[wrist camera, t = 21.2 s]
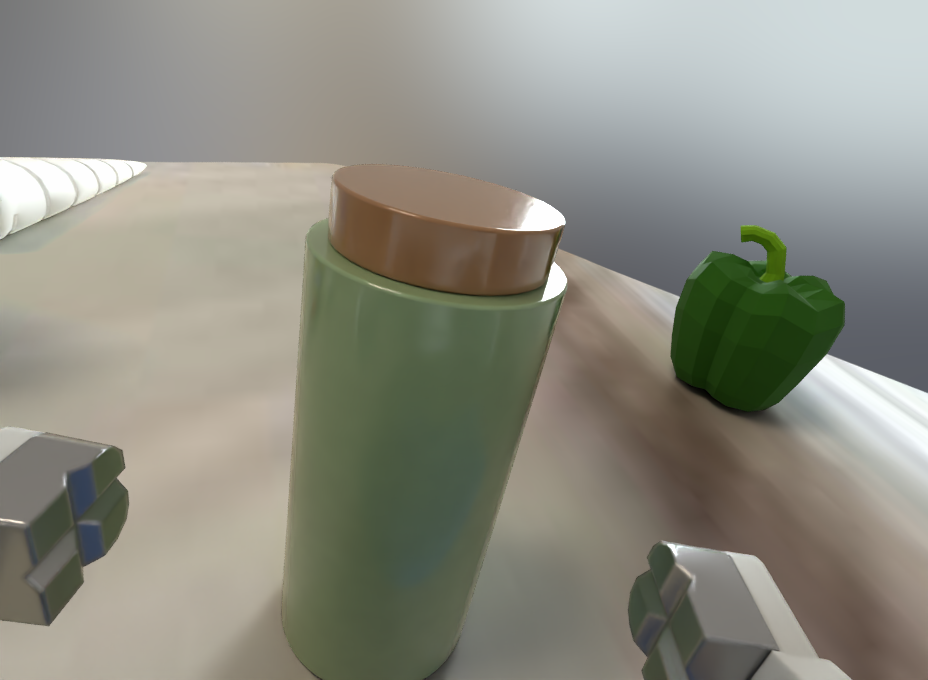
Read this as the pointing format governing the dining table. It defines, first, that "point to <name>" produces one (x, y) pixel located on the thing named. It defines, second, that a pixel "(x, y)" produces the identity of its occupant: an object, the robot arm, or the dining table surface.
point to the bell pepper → (752, 326)
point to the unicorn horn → (53, 186)
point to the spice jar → (409, 409)
